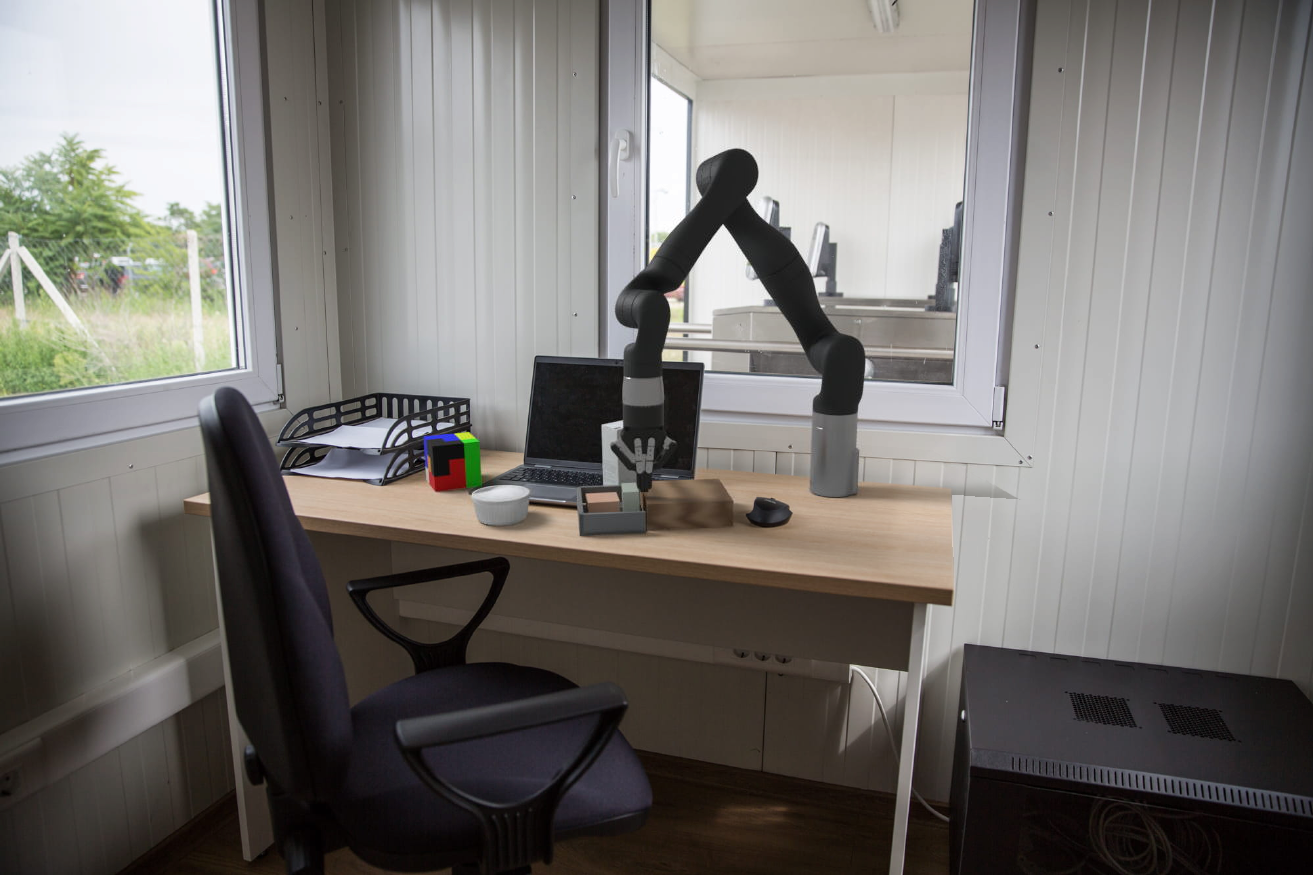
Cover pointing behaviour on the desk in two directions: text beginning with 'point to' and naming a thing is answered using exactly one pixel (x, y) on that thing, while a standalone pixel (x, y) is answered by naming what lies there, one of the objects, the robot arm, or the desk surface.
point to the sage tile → (630, 497)
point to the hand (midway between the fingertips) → (644, 491)
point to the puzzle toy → (452, 461)
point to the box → (607, 515)
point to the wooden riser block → (687, 504)
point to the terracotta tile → (602, 502)
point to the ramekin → (501, 504)
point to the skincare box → (611, 464)
